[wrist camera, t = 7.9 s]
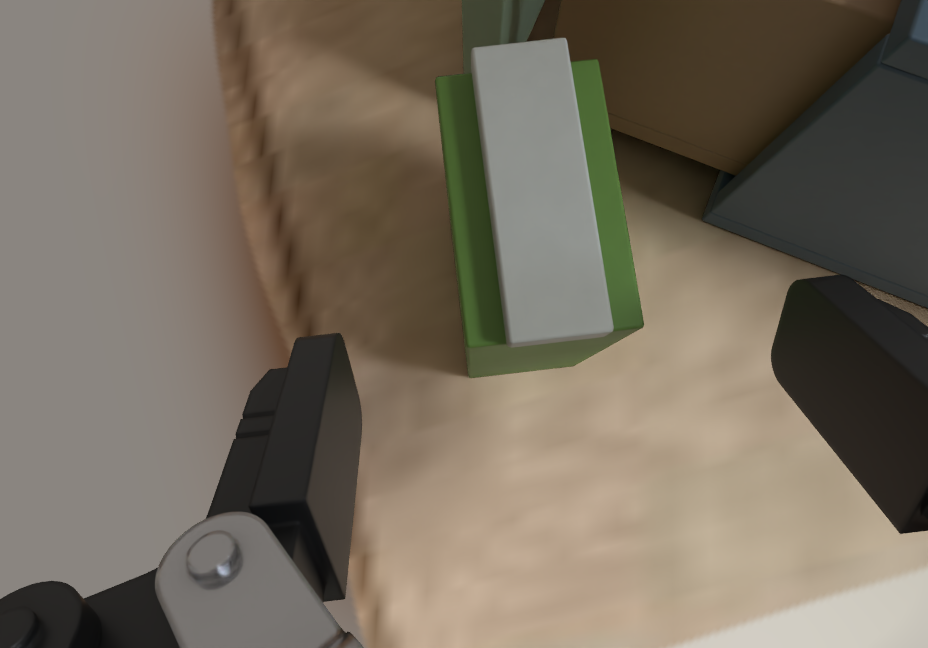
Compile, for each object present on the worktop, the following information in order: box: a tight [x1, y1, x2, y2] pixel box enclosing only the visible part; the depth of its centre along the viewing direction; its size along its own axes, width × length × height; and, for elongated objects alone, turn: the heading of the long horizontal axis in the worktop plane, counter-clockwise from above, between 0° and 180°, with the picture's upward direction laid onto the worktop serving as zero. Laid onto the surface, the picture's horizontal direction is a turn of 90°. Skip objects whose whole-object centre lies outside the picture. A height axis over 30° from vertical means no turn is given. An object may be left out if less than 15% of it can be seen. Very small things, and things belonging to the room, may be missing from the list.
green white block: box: [435, 38, 644, 378], centre depth 15 cm, size 4×6×8 cm, turn 7°
